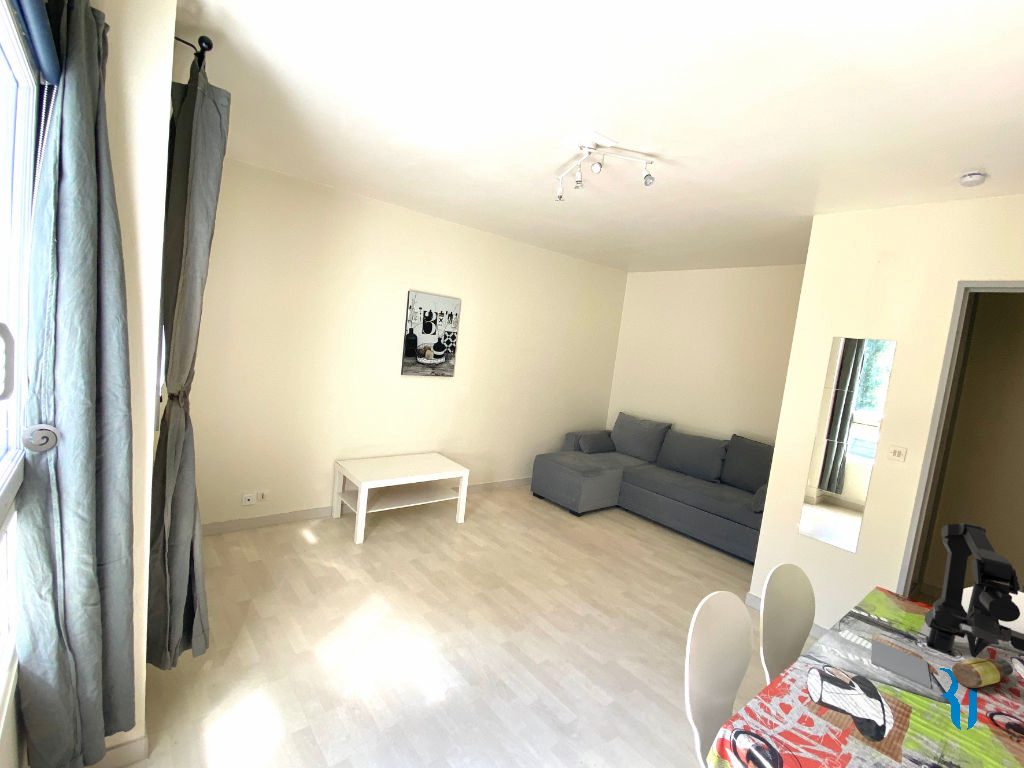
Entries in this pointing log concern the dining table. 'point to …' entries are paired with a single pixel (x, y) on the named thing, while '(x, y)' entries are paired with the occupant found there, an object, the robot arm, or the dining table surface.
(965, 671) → the sauce bottle
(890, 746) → the dining table surface
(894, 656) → the rubber mat
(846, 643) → the dining table surface
